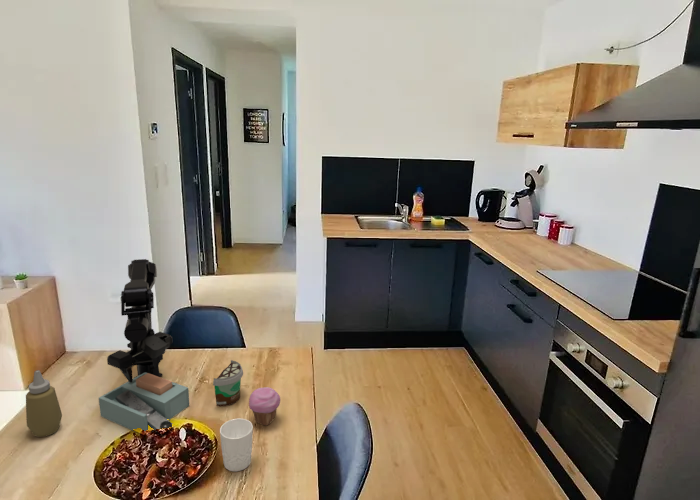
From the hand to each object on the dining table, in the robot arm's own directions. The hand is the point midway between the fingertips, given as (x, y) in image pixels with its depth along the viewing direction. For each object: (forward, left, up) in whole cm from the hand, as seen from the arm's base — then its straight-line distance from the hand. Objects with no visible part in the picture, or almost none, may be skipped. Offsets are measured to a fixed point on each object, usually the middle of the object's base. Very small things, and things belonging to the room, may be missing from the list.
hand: (143, 374), depth 136 cm
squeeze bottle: (-11, -23, -9) cm, 27 cm away
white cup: (+42, -8, -9) cm, 43 cm away
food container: (+23, +13, -9) cm, 28 cm away
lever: (+9, -8, -6) cm, 13 cm away
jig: (+5, -4, -9) cm, 10 cm away
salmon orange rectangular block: (+4, 0, -3) cm, 5 cm away
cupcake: (+38, +9, -9) cm, 40 cm away
